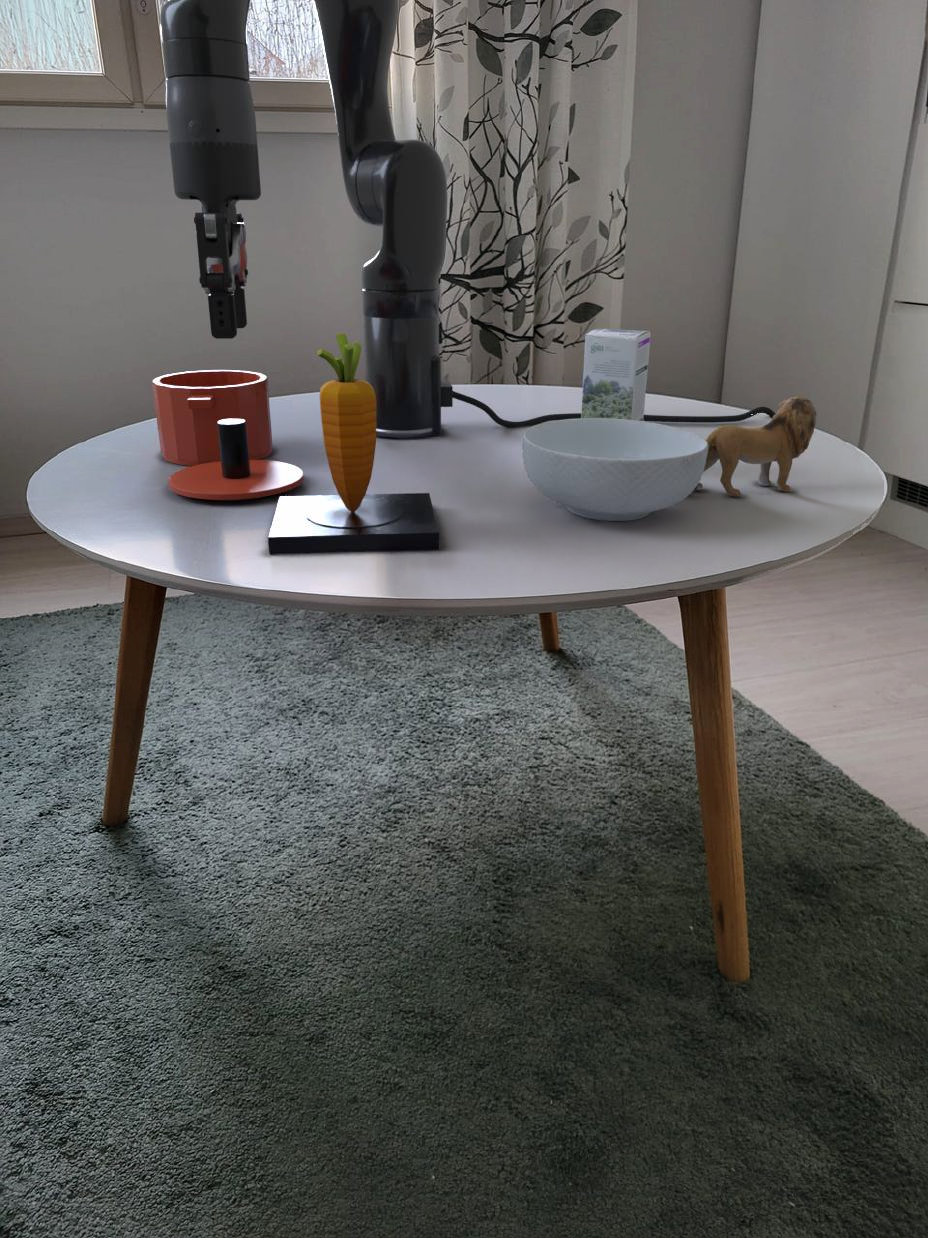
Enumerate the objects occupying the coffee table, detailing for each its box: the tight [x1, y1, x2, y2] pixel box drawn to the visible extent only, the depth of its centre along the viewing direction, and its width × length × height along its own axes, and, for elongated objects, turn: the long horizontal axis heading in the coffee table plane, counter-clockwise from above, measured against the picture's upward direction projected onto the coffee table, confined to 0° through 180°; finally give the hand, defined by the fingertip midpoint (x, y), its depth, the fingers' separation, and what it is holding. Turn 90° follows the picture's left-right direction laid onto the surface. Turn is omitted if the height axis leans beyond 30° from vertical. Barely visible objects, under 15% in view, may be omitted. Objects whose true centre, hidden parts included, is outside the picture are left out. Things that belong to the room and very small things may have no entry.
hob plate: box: [267, 492, 440, 555], centre depth 82 cm, size 14×12×2 cm
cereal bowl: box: [521, 418, 708, 522], centre depth 87 cm, size 17×17×7 cm
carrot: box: [316, 333, 377, 513], centre depth 79 cm, size 5×5×15 cm
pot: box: [151, 369, 273, 467], centre depth 107 cm, size 12×18×8 cm
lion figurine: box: [690, 396, 818, 498], centre depth 93 cm, size 15×5×9 cm, turn 116°
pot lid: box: [167, 419, 305, 502], centre depth 94 cm, size 13×13×7 cm
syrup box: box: [580, 328, 651, 421], centre depth 101 cm, size 6×6×14 cm
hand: (230, 332), depth 88 cm, fingers open, 8 cm apart
